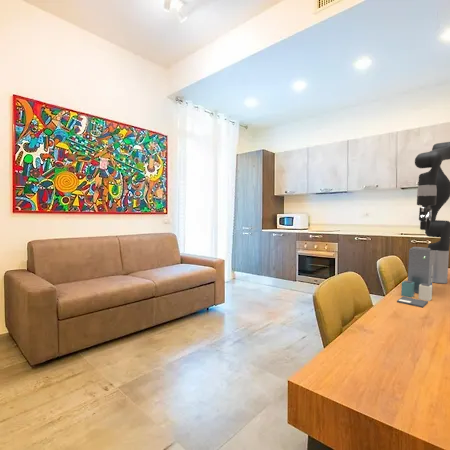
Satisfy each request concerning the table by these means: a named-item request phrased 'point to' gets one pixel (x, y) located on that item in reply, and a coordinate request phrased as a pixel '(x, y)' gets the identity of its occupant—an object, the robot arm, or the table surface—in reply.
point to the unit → (420, 266)
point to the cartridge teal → (407, 288)
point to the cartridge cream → (425, 292)
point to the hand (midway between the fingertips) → (424, 229)
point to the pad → (412, 301)
